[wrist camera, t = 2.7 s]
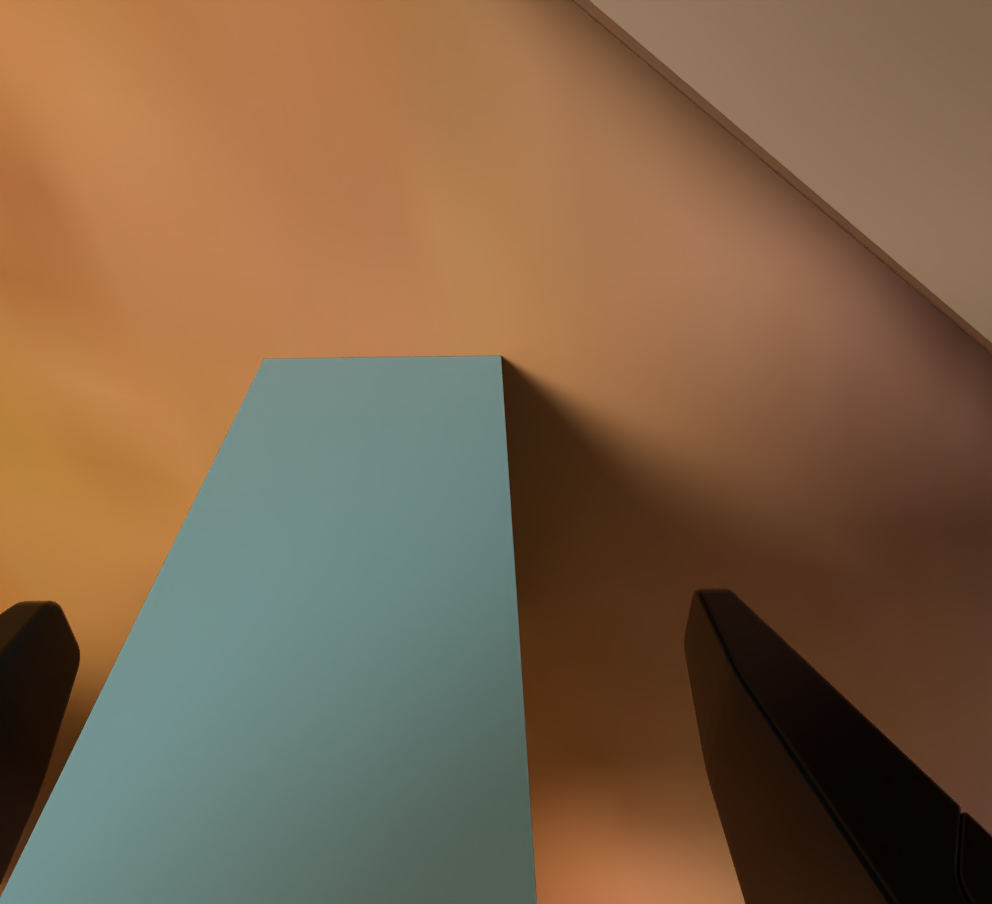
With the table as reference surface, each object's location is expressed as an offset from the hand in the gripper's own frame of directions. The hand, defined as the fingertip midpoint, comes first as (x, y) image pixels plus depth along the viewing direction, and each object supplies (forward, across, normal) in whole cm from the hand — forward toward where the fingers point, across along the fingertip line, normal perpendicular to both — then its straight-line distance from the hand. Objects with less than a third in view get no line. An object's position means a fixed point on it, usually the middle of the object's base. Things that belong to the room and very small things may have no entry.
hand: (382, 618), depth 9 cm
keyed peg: (+2, 0, 0) cm, 2 cm away
